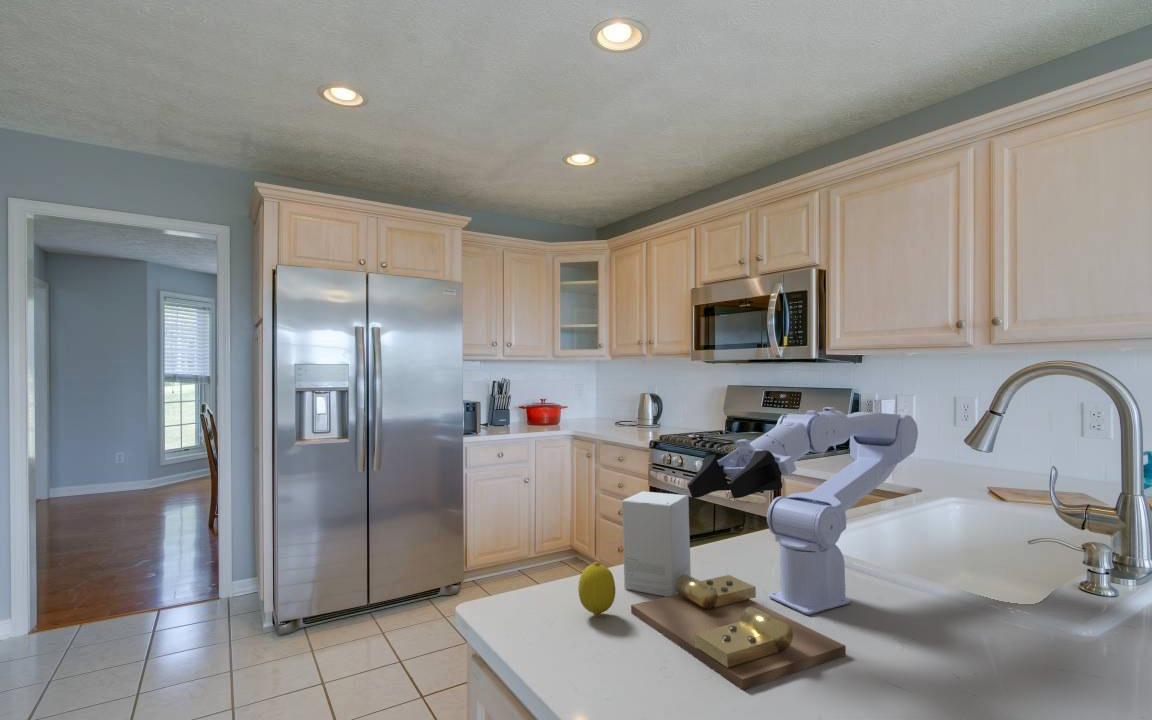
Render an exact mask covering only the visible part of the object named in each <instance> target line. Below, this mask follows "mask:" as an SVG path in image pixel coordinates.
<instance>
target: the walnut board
mask: <svg viewBox="0 0 1152 720" xmlns="http://www.w3.org/2000/svg"><path fill="white" fill-rule="evenodd" d="M748 607H754V608H756V609H758V610H760V611H762V612H764V613H766V614H768V615H770V616H772V617H774V618H776V619H778V620H780V621H782V622H784V623H786V624H788V625H789V626H790V627H791V628H792V631H793V639H792V642H791V644H790V646H789V647H788V648H787V649H785V650H778V652H776V653H773V654H770V655H767V656H764V657H760V658H757V659H754V660H751V661H747V662H744V663H741V664H738V665H735V666H731V667H728V668H727V667H726V666H724V665H723V664H721V663H720V662H718V661H717V660H715V659H714V658H712V657H711V656H709V655H708V654H706V653H705V652H703V651H702V650H700V649H699V648H697V647H696V646H695V634H696V633H699V632H703V631H707V630H711V629H714V628H718V627H722V626H725V625H729V624H733V623H737V622H740V618H741V614H742V612H743V611H744V610H745V609H746V608H748ZM630 608H631V609H630V610H631V611H630V613H631V614H632V615H633V616H635V617H637V618H638V619H640V620H641V621H642V622H644V623H645V624H647V625H648V626H649V627H651V628H652V629H654V630H656V631H657V632H658V633H659V634H661V635H662V636H664V637H665V638H667V639H669V641H671V642H672V643H674V644H676V645H677V646H679V647H680V648H681V649H682V650H683V651H686V652H687V653H689V655H691V656H693V657H694V658H695V659H697V660H698V661H700V662H701V663H703V664H705V665H706V666H707V667H708V668H710V669H711V670H713V669H714V670H713V671H715V672H716V671H717V672H718V674H719V675H720V674H721V675H720V676H721V677H723V678H724V679H726V680H727V679H728V680H727V681H729V682H731V683H732V684H733V685H735V686H736V687H737V688H739V689H740V690H742V691H743V690H744V691H745V690H748V689H750V688H753V687H756V686H759V685H762V684H765V683H768V682H770V681H773V680H777V679H780V678H782V677H786V676H789V675H792V674H794V673H797V672H801V671H803V670H806V669H809V668H812V667H815V666H817V665H821V664H824V663H827V662H830V661H833V660H836V659H839V658H842V657H845V656H847V649H846V648H847V647H846V644H843V643H841V642H839V641H837V640H835V639H833V638H831V637H829V636H827V635H824V634H822V633H820V632H818V631H816V630H814V629H812V628H811V627H807V626H805V625H804V624H801V623H800V622H797V621H795V620H793V619H792V618H789V617H787V616H785V615H783V614H781V613H779V612H777V611H775V610H773V609H770V608H769V607H767V606H765V605H763V604H760V603H758V602H757V601H753V600H752V599H747V600H743V601H739V602H735V603H731V604H727V605H723V606H719V607H712V608H710V609H705V608H703V607H701V606H700V605H698V604H696V603H694V602H692V601H691V600H689V599H687V598H685V597H683V596H682V595H680V594H679V593H677V594H676V595H672V596H668V597H666V596H662V597H660V598H656V599H651V600H647V601H642V602H638V603H634V604H631V605H630ZM717 672H716V673H717ZM785 675H786V676H785Z"/></svg>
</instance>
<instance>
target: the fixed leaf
mask: <svg viewBox="0 0 1152 720" xmlns="http://www.w3.org/2000/svg"><path fill="white" fill-rule="evenodd" d="M756 587H757V586H755V585H752V584H750V583H748V582H747V581H746V582H745V581H743V580H741V579H739V578H737V577H735V576H732V575H731V574H726V575H722V576H717V577H713V578H709V579H704V580H700V579H697V578H695V577H693V576H692V575H691V576H689V575H687V574H684V575H681V576H680V577H679V578H678V579H677V581H676V590H677V592H678V593H677V594H680V595H682V596H683V597H685V598H687V599H689V600H691V601H692V602H694V603H696V604H698V605H700V606H701V607H703V608H705V609H710V608H712V607H719V606H723V605H727V604H731V603H735V602H739V601H743V600H747V599H750V600H752V599H754V598H757V592H756V590H757V589H756Z"/></svg>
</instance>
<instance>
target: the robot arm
mask: <svg viewBox="0 0 1152 720" xmlns="http://www.w3.org/2000/svg"><path fill="white" fill-rule="evenodd" d="M918 435H919V429H918V425H917V423H916V421H915V419H914V418H913V417H912V416H911V415H909V414H905V415H901V414H898V413H897V414H896V413H886V412H872V411H871V412H867V411H857V412H853V413H849V414H845V413H844V412H842V411H840V410H836V407H833V406H831V407H830V406H825V407H823V408H822V411H817V410H814V409H812V410H807V411H806V413H804V414H803V413H802V414H797V413H789V414H785V413H783V414H781V416H780V417H779V418H778V420H777V423H776V425H775V426H774V427H773V428H771V429H770V430H769V431H767V432H765V433H764V434H761V435H760V436H758V437H757V438H755V439H754V440H752V441H750V440H748V439H746V438H744V439H743V438H742V439H738V440H736V441H735V447H736V449H734V450H733V451H731V452H730V453H728V454H727V455H725V456H724V457H722V458H720V459H717V456H716V454H708V455H706V456H705V457H704V458H703V461H702V464H701V466H700V469H699V470H698V471H697V473H696V474H695V475H694V476H693V478H692V479H690V481H689V482H688V484H687V488H688V490H689V493H690V496H691V498H692V499H697V498H702V497H704V496H707V495H708V494H711V493H714V492H718V491H720V492H722V491H723V492H724V491H725V492H726V491H729V492H730V493H731V496H732V498H733V499H740V498H744V497H747V496H750V495H753V494H754V495H755V494H758V493H759V492H766V491H780V490H782V489H783V482H782V479H781V478H782V476H783V477H784V476H785V477H787V476H790V475H791V474H793V473H794V472H796V471H797V467H796V465H795V462H796V461H798V460H799V459H800V458H801V459H802V457H803V456H805V455H806V454H808V453H809V452H811V453H822V454H824V453H825V452H826V451H828V449H829V448H830V447H832V446H837V445H842V444H845V443H846V442H847V441H848V440H850V441H849V449H850V452H849V455H850V458H852V459H853V460H854V461H853V462H851V463H850V464H849V465H847V466H845V467H844V468H843V469H841V470H840V471H838V472H837V473H835V474H834V475H833V476H831V477H830V478H828V479H827V480H825V481H824V482H822V484H820V485H818V486H817V487H815V488H814V489H812V490H811V491H804V492H803V491H802V492H795V493H791V494H789V495H787V496H776V497H775V498H774V499H773V500H772V501H771V502H770V504H769V506H768V509H767V513H766V523H767V526H768V529H769V532H771V534H773V535H774V540H775V542H777V543H779V568H780V569H779V571H780V577H779V578H780V590H778V591H775V592H770V593H768V597H769V598H770V599H772V600H774V601H777V602H779V603H781V604H783V605H785V606H787V607H790V608H792V609H794V610H796V611H798V612H801V613H803V614H804V615H811V614H816V613H819V612H824V611H826V610H829V609H834V608H837V607H840V606H845V605H847V604H848V605H849V604H850V603H851V599H850V598H847V597H846V567H845V566H846V565H845V563H846V562H845V558H844V555H843V552H842V550H841V549H840V548H839V547H838V545H837V542H839V539H840V537H841V535H842V533H843V532H844V531H845V530H846V529H847V515H846V512H847V511H849V510H850V509H851V508H852V507H853V506H855V505H856V504H857V503H859V502H860V501H861V500H862V499H863V498H865V497H867V496H868V494H870V493H871V492H873V491H874V490H875V489H877V488H878V487H879V486H880V485H882V484H883V483H884V482H885V481H886V480H887V479H888V478H889V477H890V475H891V474H892V473H893V471H894V470H895V468H896V467H897V465H898V464H900V463H901V462H902V461H904V460H906V459H907V458H908V457H909V456H911V455H912V454H913V453H914V452H915V450H916V448H917V442H918V437H919V436H918ZM727 478H728V479H729V480H730V481H729V482H728V479H727Z"/></svg>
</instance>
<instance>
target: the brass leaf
mask: <svg viewBox="0 0 1152 720" xmlns="http://www.w3.org/2000/svg"><path fill="white" fill-rule="evenodd" d="M792 639H793V631H792V628H791V627H790V626H789V625H788V624H786V623H784V622H782V621H780V620H778V619H776V618H774V617H772V616H770V615H768V614H766V613H764V612H762V611H760V610H758V609H756V608H754V607H748V608H746V609H745V610H744V611H743V612H742V614H741V618H740V622H737V623H733V624H729V625H725V626H722V627H718V628H714V629H711V630H707V631H703V632H699V633H696V634H695V646H696V647H697V648H699V649H700V650H702V651H703V652H705V653H706V654H708V655H709V656H711V657H712V658H714V659H715V660H717V661H718V662H720V663H721V664H723V665H724V666H726V667H727V668H728V667H731V666H735V665H738V664H741V663H744V662H747V661H751V660H754V659H757V658H760V657H764V656H767V655H770V654H773V653H776V652H778V650H785V649H787V648H788V647H789V646H790V644H791V642H792Z"/></svg>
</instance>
